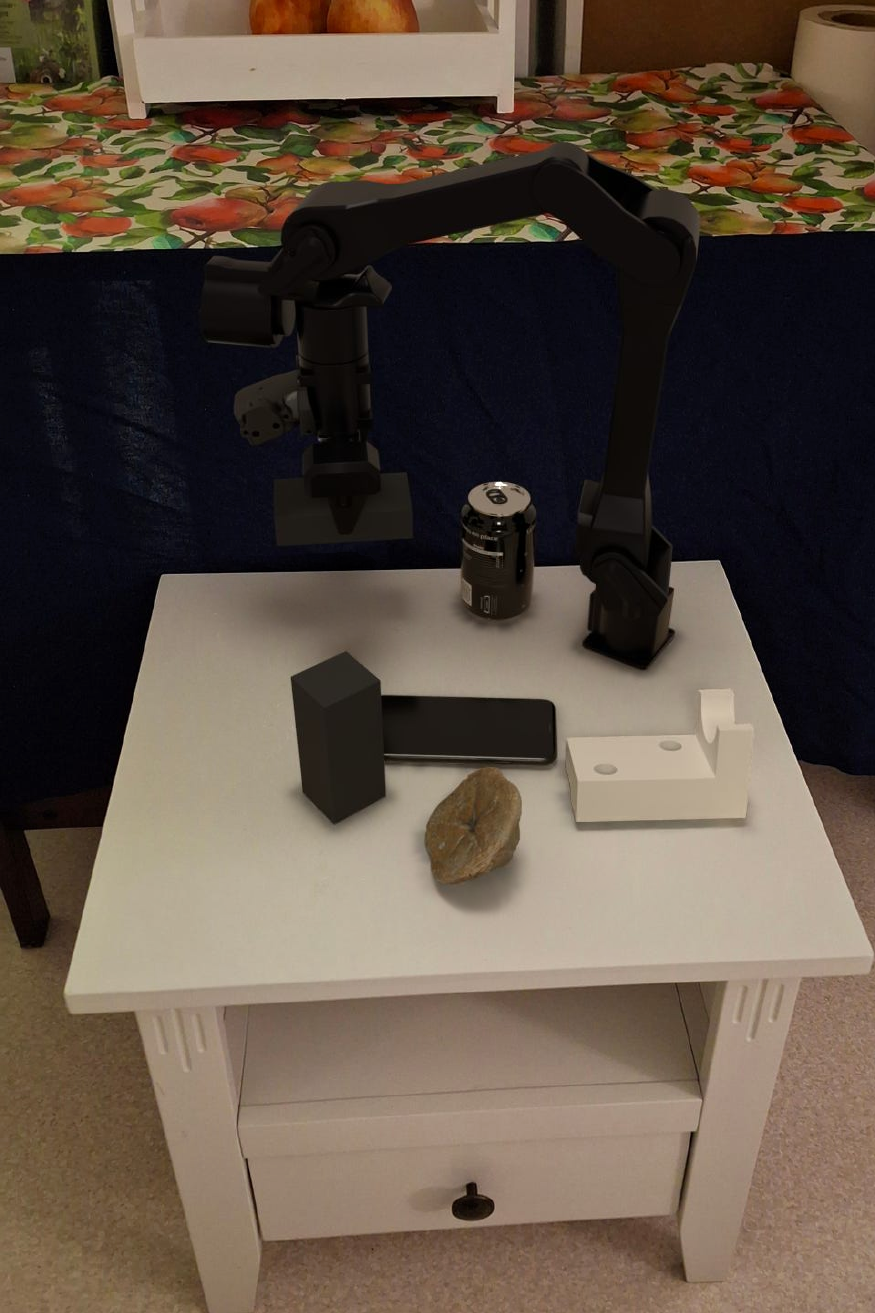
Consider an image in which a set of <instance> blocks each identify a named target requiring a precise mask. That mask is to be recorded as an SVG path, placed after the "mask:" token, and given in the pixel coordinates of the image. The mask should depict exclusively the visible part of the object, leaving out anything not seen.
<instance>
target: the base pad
mask: <svg viewBox="0 0 875 1313" xmlns="http://www.w3.org/2000/svg"><path fill="white" fill-rule="evenodd" d="M273 484H274V486H273V521H274V530H275V531H274V532H275V539H276V546H277V547H287V546H304V545H305V546H306V545H322V544H323V545H324V544H340V543H358V542H374V541H375V542H376V541H391V540H392V541H393V540H407V539H410V540H411V539H414V522H413V521H414V520H413V518H414V517H413V516H414V514H413V512H414V510H413V504H412V499H411V491H410V485H409V479H408V473H407V472H406V471H405V472H388V473H381V491H380V492H378V493H377V494H375V495H370V496H369V498H368V499H367V501H366V503H365V506H364V507H363V510H362V512H361V514H360V516H359V518H358V520H357V522H356V525H355V527H354V529H353V531H352V533H351V534H347V535H340V534H339V533H338V530H337V527H336V524H335V521H334V519H333V516H332V513H331V510H330V507H329V504H328V501H327V499H326V497H324V498H310V497H308V496H306V495H304V483H303V477H295V478H294V477H293V478H275V479H274V481H273Z"/></svg>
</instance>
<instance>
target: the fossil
mask: <svg viewBox="0 0 875 1313" xmlns="http://www.w3.org/2000/svg"><path fill="white" fill-rule="evenodd" d="M466 777H467V778H464V779H462V781H461V782H460V783H459V785H458V786H457V787H456V788H455V789H454V790H453V791H452V792H450V794H448V795H447V796H446V797H445V798H444V799H442V801H441V802H439V803H438V804H437V805H436V806H435V808H434V810H433V811H432V813H431V815H430V817H429V819H428V821H427V823H426V827H425V828H426V829H425V830H426V831H425V833H424V844H425V848H426V849H427V852H428V854H430V870H431V873H432V874H433V876H434V878H435V880H436V881H438V882H439V883H442V884H443V885H447V886H456V885H460V884H462V883H466V882H468V881H472V880H475V879H478V878H480V877H481V876H483V875H485V874H487V873H488V872H492V871H495V870H498V869H503V868H505V867H506V866H508V865H509V864H510V863H511V862H512V860H513V858H514V853H515V852H516V850H517V846H518V845H519V844H520V840H521V829H520V822H521V817H522V813H523V812H522V811H523V800H522V796H521V793H520V790H519V789H518V787H517V786H516V785H515V783H513V782H511V781H510V780H509V779H508V778H506V776H504V774H503V772H502V771H501V769H499V768H498V767H494V766H485V767H481V768H478V769H477V770H475V771H474V772H471V773H470V774H468V775H467V776H466Z"/></svg>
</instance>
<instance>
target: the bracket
mask: <svg viewBox="0 0 875 1313" xmlns="http://www.w3.org/2000/svg"><path fill="white" fill-rule="evenodd" d="M697 693H698V694H697V705H696V716H695V717H696V719H695V729H694V730H695V731H694V734H669V735H668V734H667V735H665V734H664V735H625V736H623V735H622V736H584V737H583V736H581V737H580V736H579V737H577V736H576V737H566V738H565V740H566V742H565V770H566V773H567V778H568V782H569V785H570V802H571V805H572V810H573V814H574V819H575V822H576V823H586V822H587V823H588V822H589V823H590V822H591V823H592V822H627V821H628V822H631V821H632V822H633V821H669V820H670V821H671V820H673V821H674V820H675V821H676V820H708V819H709V820H711V819H712V820H713V819H717V820H718V819H746V817H747V810H748V800H749V792H750V781H751V772H752V760H753V751H754V741H755V731H756V730H755V728H754V726H753V724H752V723H737V724H736V719H735V693H734V691H733V688H715V689H713V688H711V689H710V688H709V689H708V688H707V689H698V692H697Z"/></svg>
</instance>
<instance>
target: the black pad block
mask: <svg viewBox="0 0 875 1313" xmlns="http://www.w3.org/2000/svg"><path fill="white" fill-rule="evenodd" d="M289 678H290V687H291V695H292V706H293V714H294V715H293V716H294V723H295V724H294V726H295V732H296V733H295V735H296V741H297V752H298V760H299V761H298V762H299V770H300V781H301V789H302V793H303V794H304V795H305V797H307V799H308V800H309V801H310V802H311V803H313V805H314V806H316V808H317V809H318V810H320V812H321V813H322V814H323V815H324V816H325V817H326V818H327V819H328V820H329V821H330V822H331V823H332V824H333V825H336V824H338V823H339V822H342V821H343V820H345V819H347V818H349V817H350V816H352V815H354V814H356V813H358V812H360V811H361V810H363V809H365V808H367V807H369V806H371V805H373V804H374V803H376V802H378V801H380V800H382V799H383V798H385V797H386V796H387V790H386V789H387V788H386V767H385V766H386V764H385V761H384V744H383V722H382V701H381V695H382V680H381V679H380V678H379V677H378V676H376V675H375V674H374V673H373V672H372V671H370V670H369V669H368V668H367V667H366V666H364V664H362V663H361V662H360V661H359V660H358V659H356V658H355V657H354V656H353V655H352V654H351V653H349V652H348V651H347V650H345V651H342V652H340V653H338V654H336V655H333V656H331V657H330V658H327V659H325V660H323V661H320V662H319V663H317V664H315V665H312V666H310V667H308V668H306V669H304V670H301V671H300V672H296V673H295V674H293V675H291V676H290V677H289Z"/></svg>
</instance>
